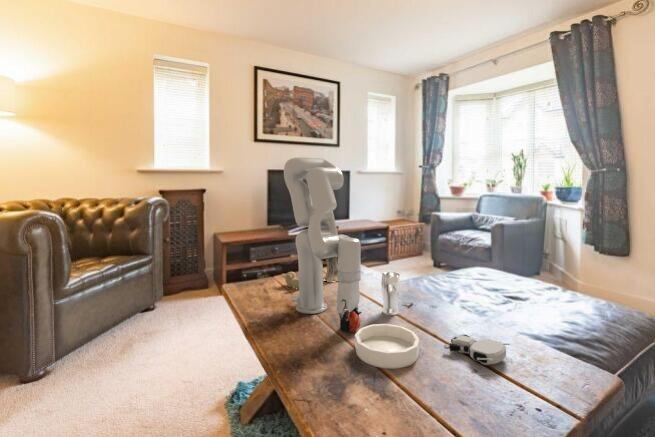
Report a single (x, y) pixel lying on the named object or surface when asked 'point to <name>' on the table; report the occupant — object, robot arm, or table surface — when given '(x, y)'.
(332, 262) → the tree stump
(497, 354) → the robot toy
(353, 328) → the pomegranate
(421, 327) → the table surface
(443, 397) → the table surface
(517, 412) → the table surface
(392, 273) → the beer glass
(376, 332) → the fruit bowl
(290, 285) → the cat figurine
